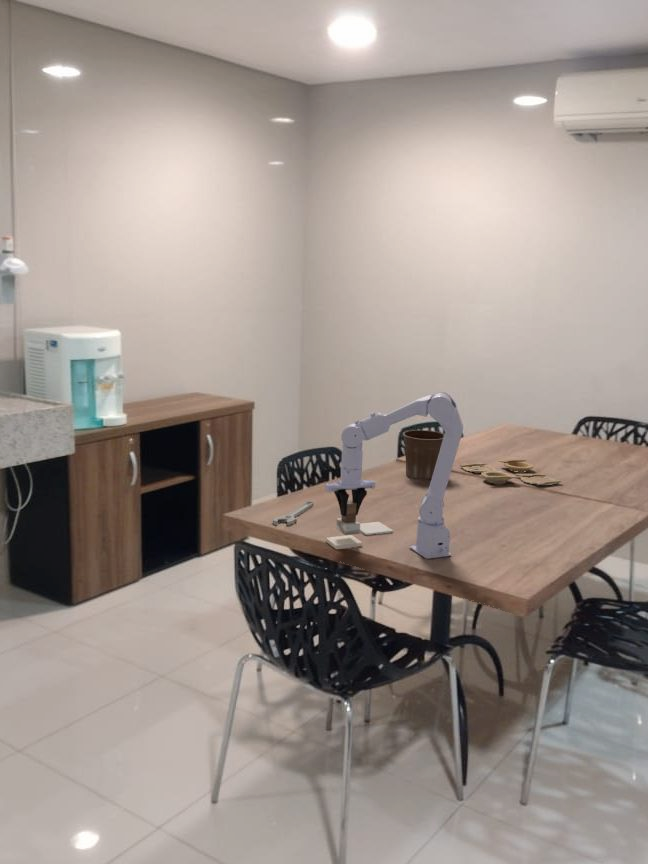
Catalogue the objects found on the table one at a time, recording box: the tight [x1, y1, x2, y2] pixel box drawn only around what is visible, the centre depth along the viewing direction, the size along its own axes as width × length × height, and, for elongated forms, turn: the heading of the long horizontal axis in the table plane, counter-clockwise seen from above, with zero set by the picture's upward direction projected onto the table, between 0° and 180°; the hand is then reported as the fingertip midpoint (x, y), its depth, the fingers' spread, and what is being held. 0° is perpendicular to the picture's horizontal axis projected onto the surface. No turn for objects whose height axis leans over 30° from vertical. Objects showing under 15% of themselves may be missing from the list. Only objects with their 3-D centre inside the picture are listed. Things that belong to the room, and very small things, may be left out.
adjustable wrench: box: [272, 500, 314, 526], centre depth 260 cm, size 25×6×2 cm, turn 155°
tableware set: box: [459, 458, 562, 486], centre depth 320 cm, size 35×29×4 cm
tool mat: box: [360, 521, 394, 536], centre depth 249 cm, size 9×9×1 cm
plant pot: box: [402, 429, 445, 481], centre depth 313 cm, size 16×16×16 cm
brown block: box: [335, 499, 361, 536], centre depth 234 cm, size 6×4×8 cm
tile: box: [325, 535, 363, 550], centre depth 235 cm, size 7×2×8 cm
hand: (349, 514), depth 234 cm, fingers closed on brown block, 3 cm apart
